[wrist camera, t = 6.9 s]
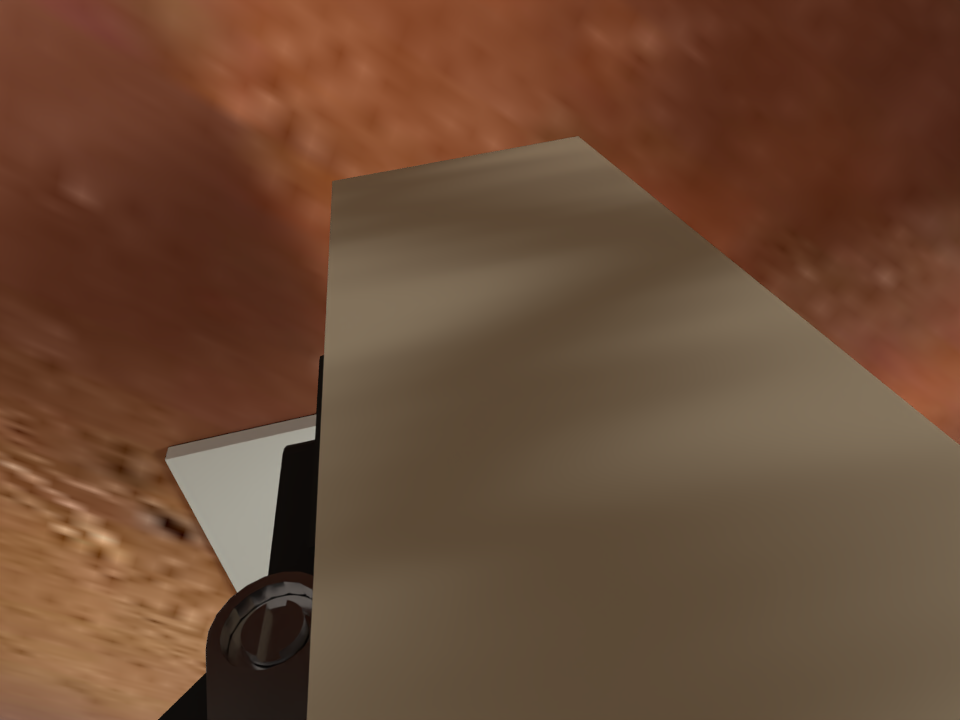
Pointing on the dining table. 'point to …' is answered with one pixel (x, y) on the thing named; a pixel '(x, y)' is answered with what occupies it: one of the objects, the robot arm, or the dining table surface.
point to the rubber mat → (238, 491)
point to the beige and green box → (607, 471)
